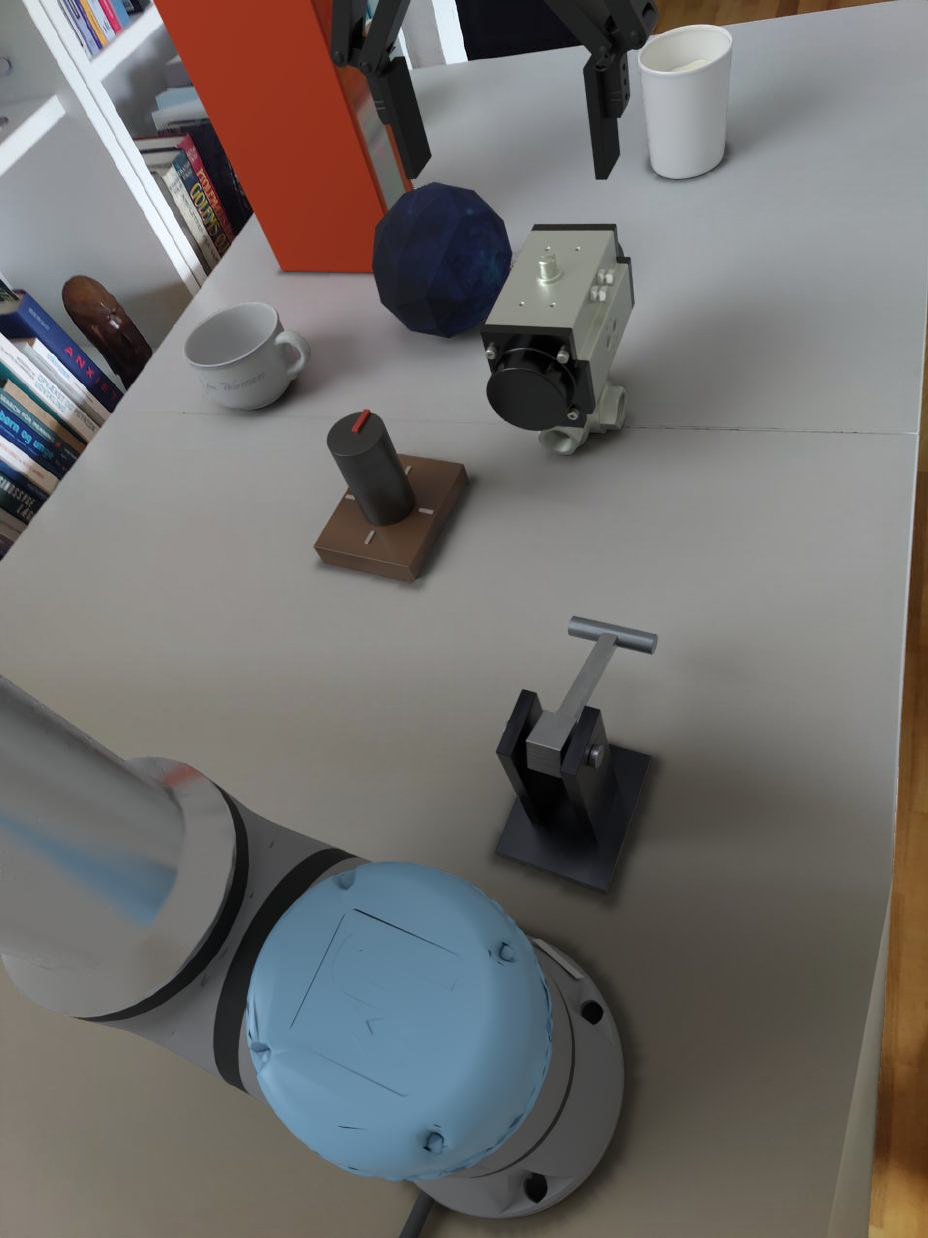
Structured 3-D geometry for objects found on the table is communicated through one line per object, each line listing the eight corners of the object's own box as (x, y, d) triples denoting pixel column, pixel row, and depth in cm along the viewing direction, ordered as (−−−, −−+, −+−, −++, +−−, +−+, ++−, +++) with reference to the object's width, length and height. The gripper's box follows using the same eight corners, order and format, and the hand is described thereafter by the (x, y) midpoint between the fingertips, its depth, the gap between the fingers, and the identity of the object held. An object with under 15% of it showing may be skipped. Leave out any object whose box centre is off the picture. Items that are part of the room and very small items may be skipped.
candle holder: (628, 160, 102) (620, 53, 92) (699, 125, 103) (698, 14, 93) (674, 194, 96) (669, 82, 87) (748, 156, 97) (752, 41, 87)
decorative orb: (506, 204, 94) (400, 129, 84) (563, 270, 85) (452, 195, 75) (434, 312, 101) (327, 254, 91) (479, 383, 92) (367, 328, 82)
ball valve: (600, 501, 75) (574, 338, 60) (510, 490, 78) (464, 333, 63) (650, 360, 83) (637, 186, 68) (567, 355, 86) (537, 188, 72)
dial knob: (400, 530, 75) (366, 456, 67) (353, 520, 77) (314, 448, 69) (424, 487, 77) (393, 412, 70) (377, 479, 79) (342, 405, 72)
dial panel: (417, 584, 74) (408, 566, 72) (323, 562, 78) (312, 545, 76) (470, 481, 80) (463, 462, 77) (379, 466, 84) (370, 447, 81)
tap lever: (575, 632, 61) (574, 606, 60) (657, 651, 59) (659, 624, 57) (498, 759, 52) (495, 731, 51) (591, 788, 50) (592, 760, 48)
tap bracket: (547, 732, 64) (515, 644, 53) (652, 762, 60) (640, 674, 50) (498, 857, 59) (453, 787, 49) (607, 896, 56) (584, 831, 46)
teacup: (198, 414, 95) (161, 358, 89) (252, 349, 99) (220, 291, 93) (295, 436, 89) (262, 378, 83) (347, 366, 93) (320, 305, 87)
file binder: (403, 275, 100) (295, -41, 74) (281, 273, 107) (144, -18, 81) (427, 233, 104) (333, -83, 78) (308, 233, 111) (185, -58, 85)
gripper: (716, -378, 36) (714, 131, 53) (246, -258, 46) (373, 137, 63) (665, -318, 32) (681, 204, 50) (171, -202, 42) (326, 198, 59)
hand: (509, 167), depth 56 cm, fingers open, 13 cm apart
